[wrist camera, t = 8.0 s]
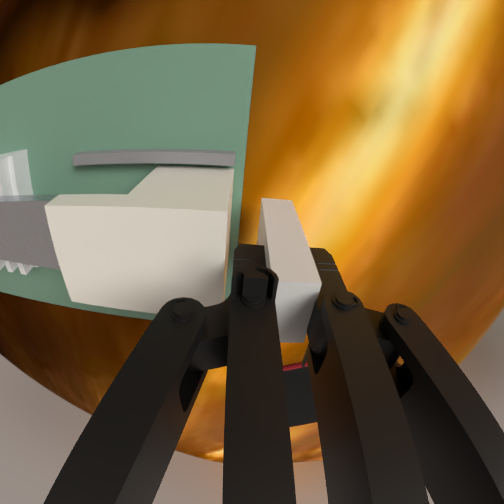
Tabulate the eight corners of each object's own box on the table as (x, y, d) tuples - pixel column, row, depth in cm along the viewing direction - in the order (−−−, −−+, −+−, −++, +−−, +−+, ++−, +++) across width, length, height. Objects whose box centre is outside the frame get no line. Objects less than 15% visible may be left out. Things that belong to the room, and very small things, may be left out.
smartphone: (280, 428, 32) (249, 376, 24) (279, 423, 33) (249, 368, 25) (334, 418, 31) (327, 360, 24) (333, 412, 32) (326, 353, 24)
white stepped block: (101, 166, 13) (44, 205, 9) (234, 168, 14) (227, 211, 9) (110, 243, 16) (71, 301, 11) (228, 252, 17) (222, 319, 12)
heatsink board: (-55, 116, 10) (-99, 137, 5) (255, 48, 11) (261, 20, 6) (-18, 279, 19) (-47, 314, 14) (232, 317, 21) (229, 385, 16)
